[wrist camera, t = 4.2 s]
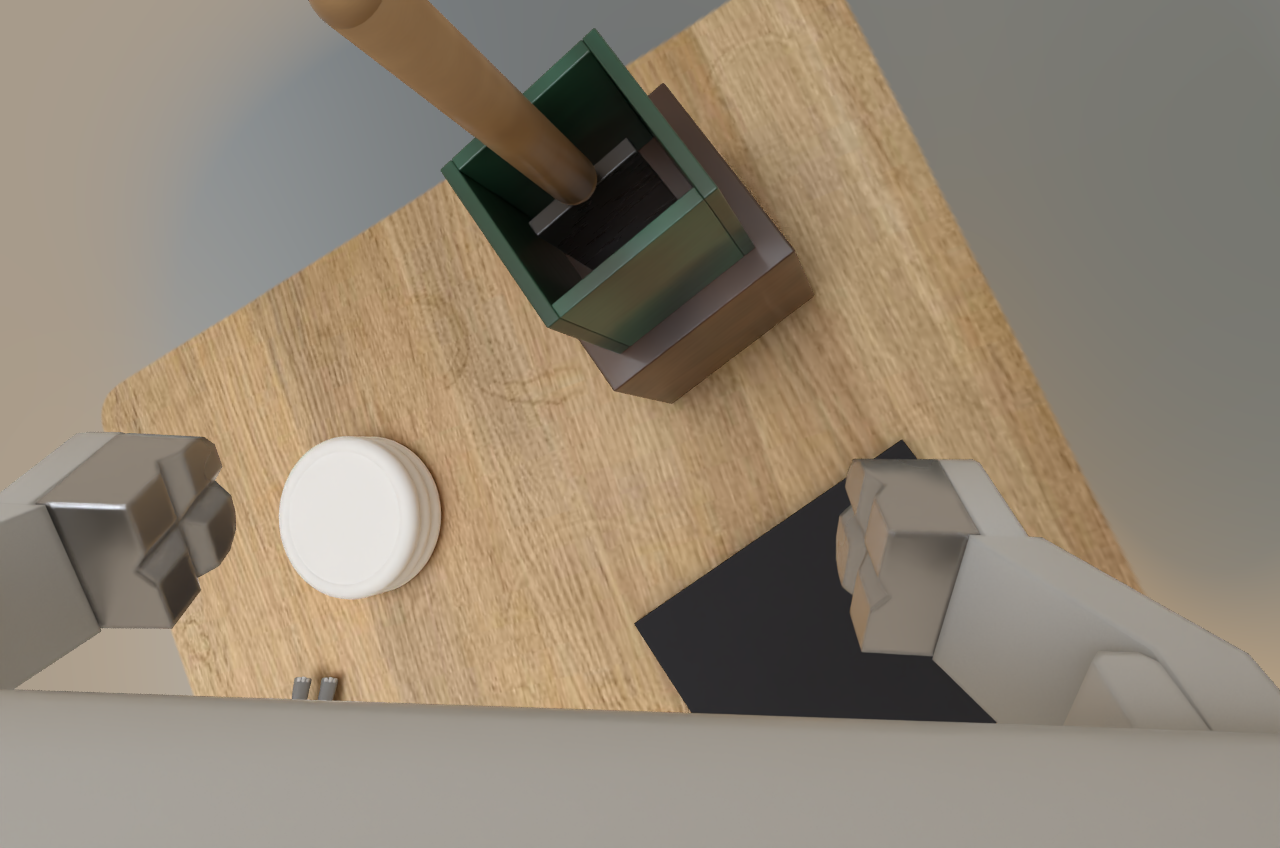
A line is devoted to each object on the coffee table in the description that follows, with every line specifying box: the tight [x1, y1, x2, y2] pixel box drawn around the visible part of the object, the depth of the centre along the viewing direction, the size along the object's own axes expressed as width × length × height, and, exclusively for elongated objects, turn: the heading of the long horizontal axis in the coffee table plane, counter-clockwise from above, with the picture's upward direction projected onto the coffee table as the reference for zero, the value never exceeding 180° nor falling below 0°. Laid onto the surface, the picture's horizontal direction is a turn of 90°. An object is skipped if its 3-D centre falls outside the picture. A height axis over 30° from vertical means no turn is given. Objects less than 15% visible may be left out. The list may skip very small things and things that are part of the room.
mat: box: [635, 440, 997, 723], centre depth 41 cm, size 18×14×1 cm
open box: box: [441, 28, 814, 403], centre depth 36 cm, size 10×10×18 cm
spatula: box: [308, 0, 678, 270], centre depth 25 cm, size 5×2×21 cm, turn 126°
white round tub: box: [279, 436, 441, 599], centre depth 49 cm, size 10×10×4 cm
